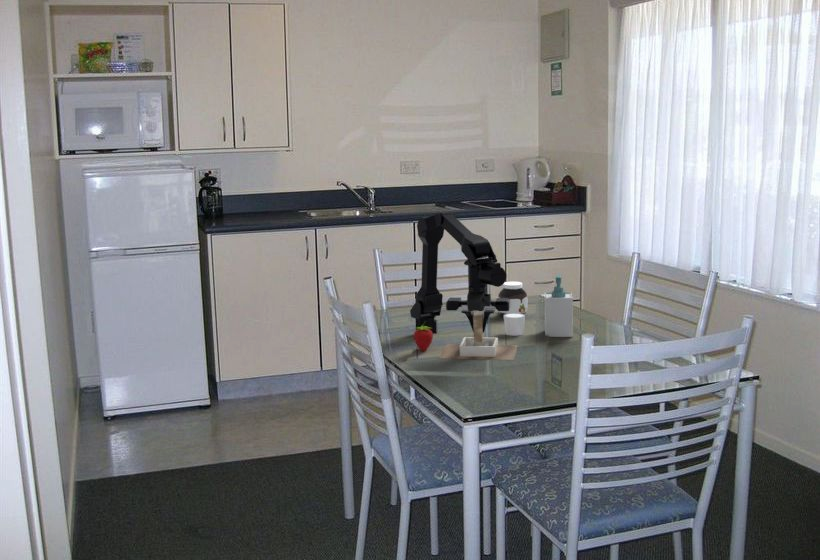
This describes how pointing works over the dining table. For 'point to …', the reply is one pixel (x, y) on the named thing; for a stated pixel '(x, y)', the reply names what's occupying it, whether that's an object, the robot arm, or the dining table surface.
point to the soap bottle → (558, 311)
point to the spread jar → (514, 297)
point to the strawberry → (423, 337)
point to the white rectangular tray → (479, 347)
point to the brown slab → (502, 354)
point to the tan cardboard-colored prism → (478, 326)
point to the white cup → (514, 324)
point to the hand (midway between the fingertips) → (478, 332)
